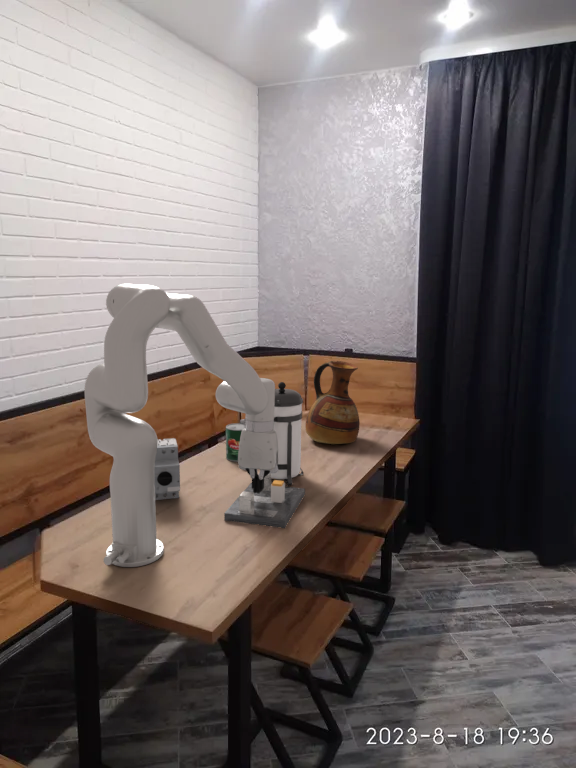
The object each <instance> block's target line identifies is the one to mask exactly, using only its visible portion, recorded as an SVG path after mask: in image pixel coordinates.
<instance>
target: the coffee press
mask: <svg viewBox="0 0 576 768" xmlns="http://www.w3.org/2000/svg"><path fill="white" fill-rule="evenodd" d="M277 386H278V388H275V405H274V430H275V431H276V434H277V441H278V464H277V466H278V472H277V473H272V474H271V479H274V480H284V482H285V485H286V486H287V485H288V486H287V487H290V486H293V478H295V477H297V476H301V475H302V476H304V471H303V469H302V468H301V463H302V461H301V459H302V457H301V456H302V453H301V452H302V445H301V444H302V419H303V407H302V405H303V403H304V398H303V397H302V395H301V393H299V392H298V391H297V390H295V389H290V388H286V387H287V386H286V383H285V382H284V381H280V382H279V383H278V385H277ZM300 472H301V473H300ZM289 485H290V486H289Z"/></svg>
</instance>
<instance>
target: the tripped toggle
mask: <svg viewBox="0 0 576 768" xmlns="http://www.w3.org/2000/svg"><path fill="white" fill-rule="evenodd" d="M285 486H286V482H285V480H281V479H274V480H273V482H271V502H278V503H282V502H283V500H284V499H285Z"/></svg>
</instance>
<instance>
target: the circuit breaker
mask: <svg viewBox="0 0 576 768" xmlns="http://www.w3.org/2000/svg"><path fill="white" fill-rule="evenodd" d="M157 441H158V445H157V452H156V458H155V468H154V482H155V501H160V500H169V499H170V500H171V499H172V500H173V499H179V498H180V492H181V474H180V473H181V471H180V468H181V466H180V462H179V445H178V443H177V439H176V438H174V437H173V438H163V439H161V438H160V439H158V438H157Z"/></svg>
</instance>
